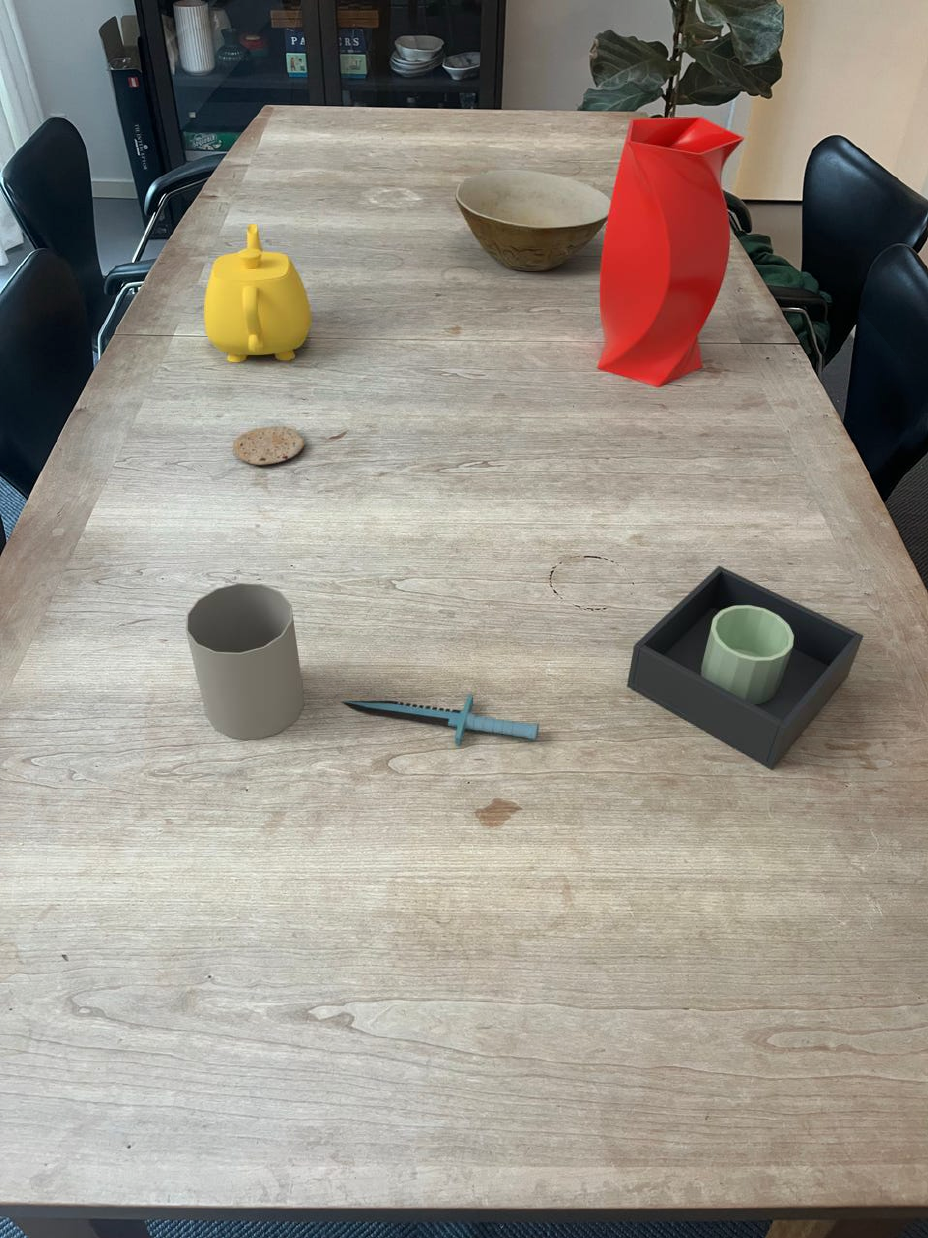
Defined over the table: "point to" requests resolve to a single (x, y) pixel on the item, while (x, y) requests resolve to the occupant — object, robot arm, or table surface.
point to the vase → (664, 247)
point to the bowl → (531, 216)
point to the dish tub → (758, 731)
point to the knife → (447, 717)
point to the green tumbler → (747, 652)
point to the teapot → (256, 303)
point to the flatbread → (268, 445)
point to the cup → (246, 660)
